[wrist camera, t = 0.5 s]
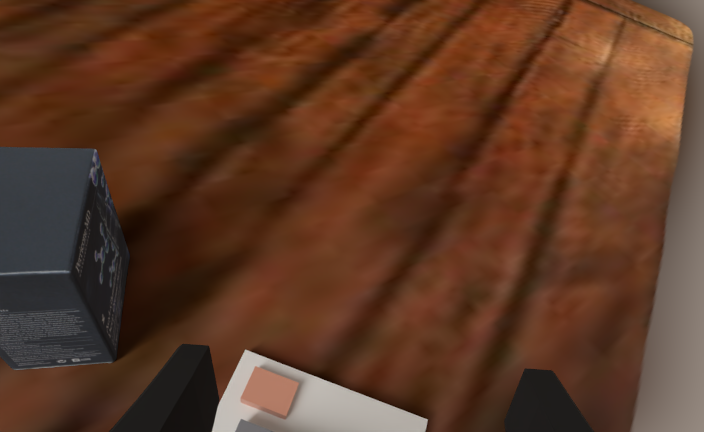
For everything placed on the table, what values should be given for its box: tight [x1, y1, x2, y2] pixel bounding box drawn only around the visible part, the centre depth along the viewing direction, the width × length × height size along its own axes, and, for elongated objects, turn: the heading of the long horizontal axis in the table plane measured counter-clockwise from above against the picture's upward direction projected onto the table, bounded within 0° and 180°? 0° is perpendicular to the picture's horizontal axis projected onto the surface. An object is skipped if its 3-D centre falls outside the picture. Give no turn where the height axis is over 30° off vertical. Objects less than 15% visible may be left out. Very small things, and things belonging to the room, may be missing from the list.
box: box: [0, 147, 130, 370], centre depth 26 cm, size 8×6×11 cm
